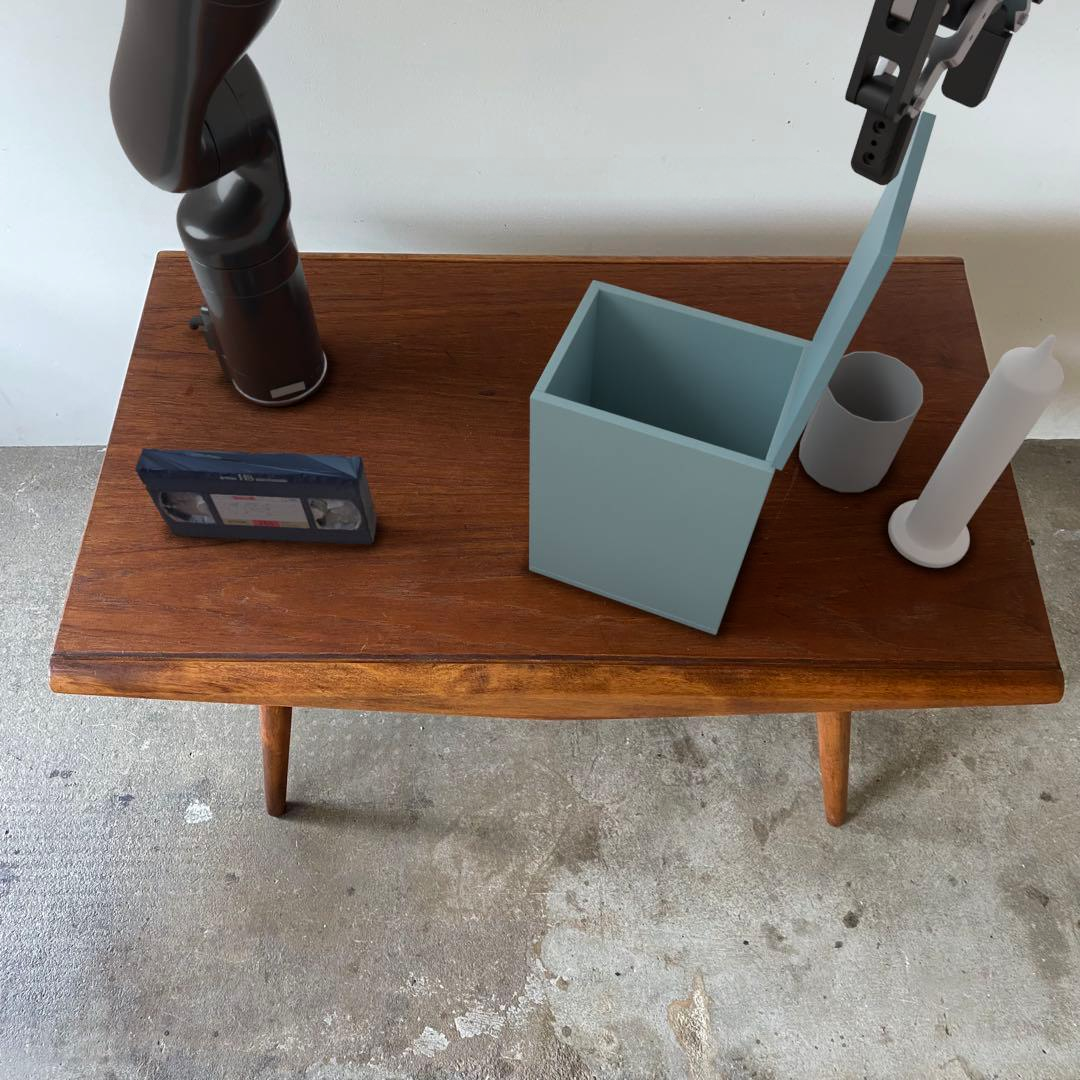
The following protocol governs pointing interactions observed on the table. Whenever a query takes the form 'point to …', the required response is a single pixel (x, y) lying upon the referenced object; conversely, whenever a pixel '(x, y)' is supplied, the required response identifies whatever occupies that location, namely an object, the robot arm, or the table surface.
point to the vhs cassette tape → (260, 495)
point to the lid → (855, 290)
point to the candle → (977, 456)
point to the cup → (860, 421)
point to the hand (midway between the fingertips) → (917, 136)
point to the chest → (655, 451)
